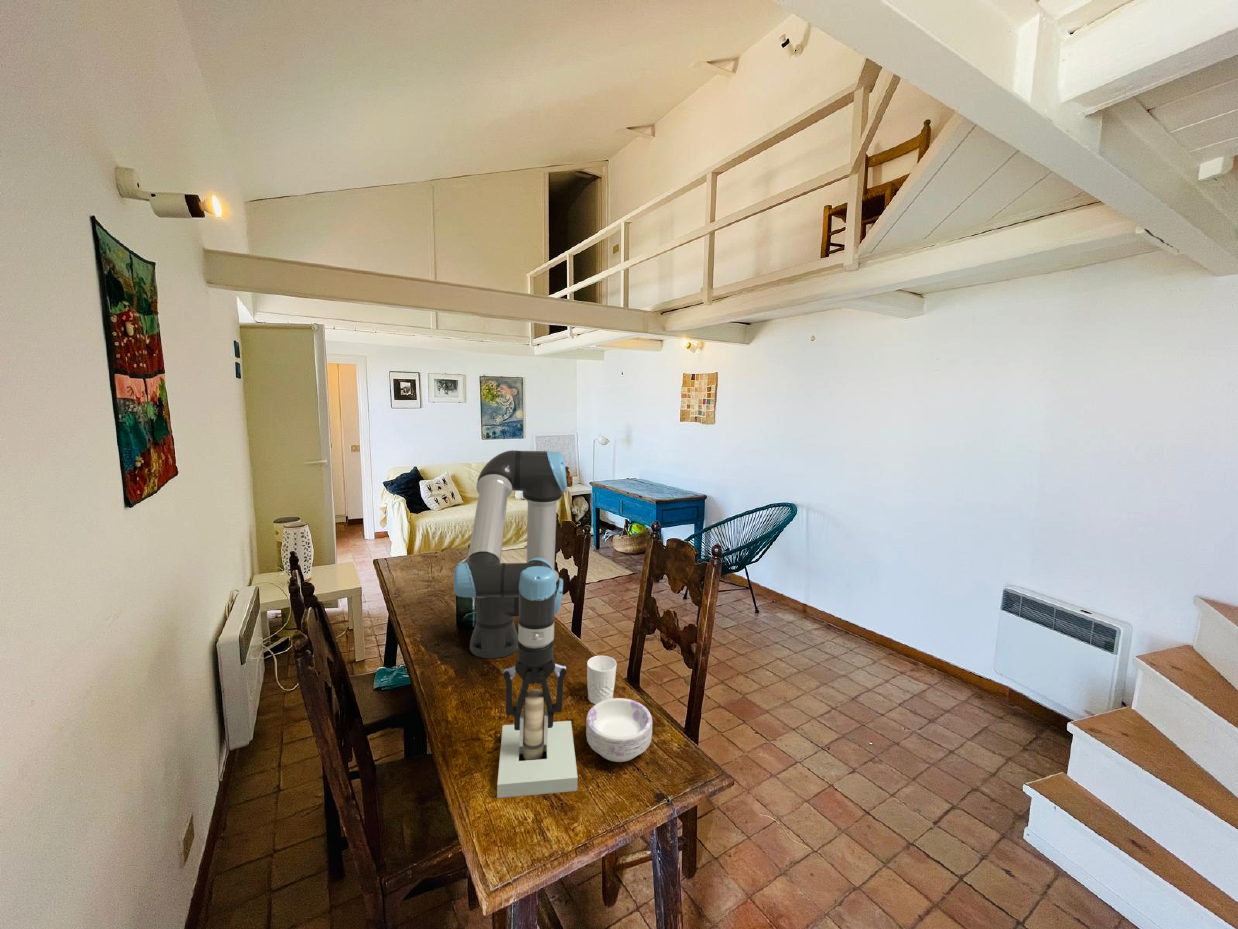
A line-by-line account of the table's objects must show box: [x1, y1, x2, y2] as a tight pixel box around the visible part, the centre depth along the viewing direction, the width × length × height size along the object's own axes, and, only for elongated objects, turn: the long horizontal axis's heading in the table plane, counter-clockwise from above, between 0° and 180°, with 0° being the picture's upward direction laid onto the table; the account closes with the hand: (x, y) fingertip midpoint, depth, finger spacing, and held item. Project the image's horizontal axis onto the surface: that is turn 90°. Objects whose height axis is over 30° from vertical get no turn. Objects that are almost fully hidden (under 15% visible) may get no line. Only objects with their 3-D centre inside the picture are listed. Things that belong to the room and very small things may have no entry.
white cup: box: [586, 655, 618, 705], centre depth 132 cm, size 8×8×10 cm
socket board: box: [496, 720, 578, 799], centre depth 108 cm, size 18×16×3 cm
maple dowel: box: [522, 688, 546, 761], centre depth 107 cm, size 5×5×14 cm
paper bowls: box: [585, 697, 653, 763], centre depth 114 cm, size 15×15×8 cm
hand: (533, 741), depth 108 cm, fingers closed on maple dowel, 4 cm apart
